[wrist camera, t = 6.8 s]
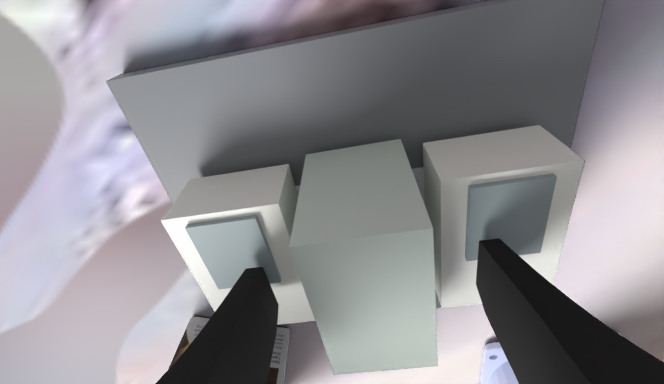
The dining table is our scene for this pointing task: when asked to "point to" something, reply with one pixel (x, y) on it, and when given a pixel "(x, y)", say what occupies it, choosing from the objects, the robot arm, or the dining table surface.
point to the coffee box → (278, 357)
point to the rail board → (374, 136)
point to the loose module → (367, 258)
